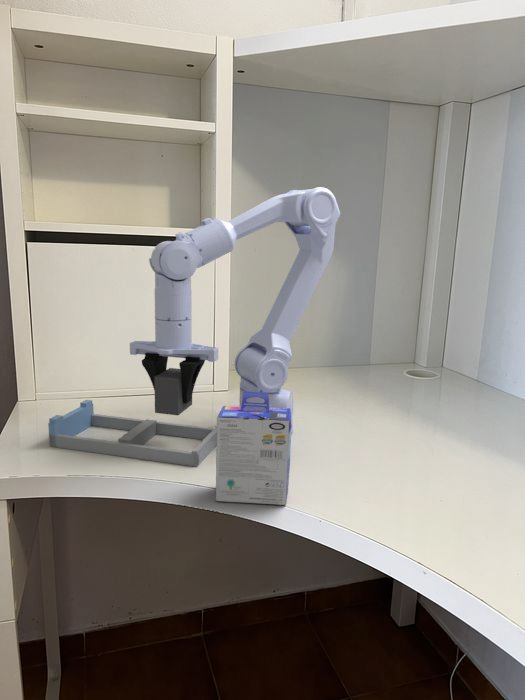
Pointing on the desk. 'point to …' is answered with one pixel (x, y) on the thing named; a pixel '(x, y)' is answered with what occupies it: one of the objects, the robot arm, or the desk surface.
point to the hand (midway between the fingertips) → (173, 400)
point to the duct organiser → (128, 436)
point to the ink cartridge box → (253, 452)
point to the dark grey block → (169, 393)
